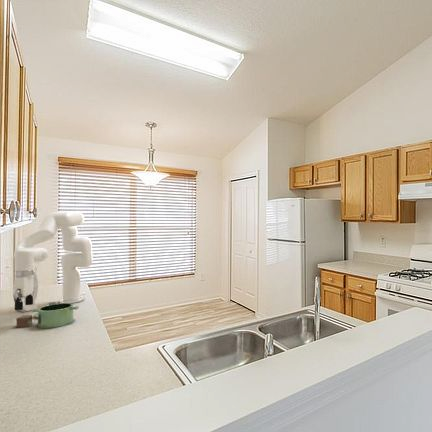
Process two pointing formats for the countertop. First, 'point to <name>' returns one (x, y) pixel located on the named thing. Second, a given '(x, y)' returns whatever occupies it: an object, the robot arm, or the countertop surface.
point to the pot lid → (49, 304)
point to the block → (24, 321)
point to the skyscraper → (35, 280)
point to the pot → (55, 315)
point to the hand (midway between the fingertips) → (24, 307)
